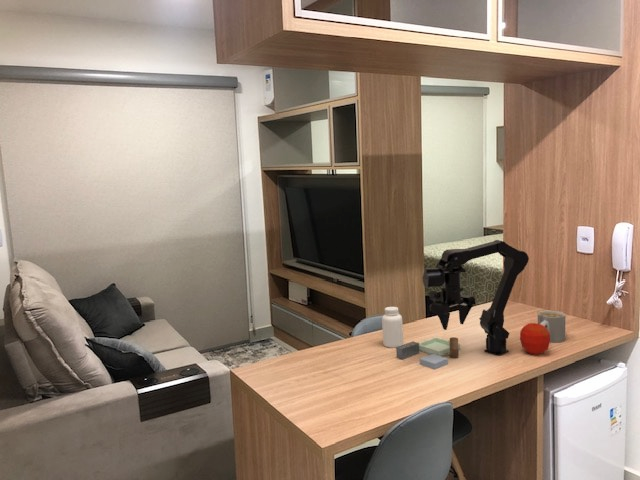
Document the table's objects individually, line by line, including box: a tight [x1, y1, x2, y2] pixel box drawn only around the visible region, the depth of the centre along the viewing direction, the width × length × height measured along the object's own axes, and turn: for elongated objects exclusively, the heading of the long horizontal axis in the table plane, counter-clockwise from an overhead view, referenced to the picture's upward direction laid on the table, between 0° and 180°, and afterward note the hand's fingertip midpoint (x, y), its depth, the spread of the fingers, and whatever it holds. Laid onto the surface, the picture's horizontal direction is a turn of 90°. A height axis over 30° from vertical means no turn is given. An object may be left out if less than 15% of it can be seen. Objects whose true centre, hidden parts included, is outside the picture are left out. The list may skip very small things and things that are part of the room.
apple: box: [519, 322, 551, 356], centre depth 194 cm, size 10×10×12 cm
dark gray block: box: [395, 340, 420, 360], centre depth 198 cm, size 3×9×4 cm, turn 127°
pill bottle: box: [381, 306, 404, 349], centre depth 210 cm, size 8×8×15 cm
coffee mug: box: [537, 310, 566, 344], centre depth 206 cm, size 13×10×10 cm
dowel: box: [449, 337, 459, 360], centre depth 194 cm, size 3×3×7 cm
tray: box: [418, 336, 461, 357], centre depth 203 cm, size 12×12×2 cm
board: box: [418, 354, 449, 370], centre depth 188 cm, size 7×7×2 cm
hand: (453, 326), depth 193 cm, fingers open, 9 cm apart
